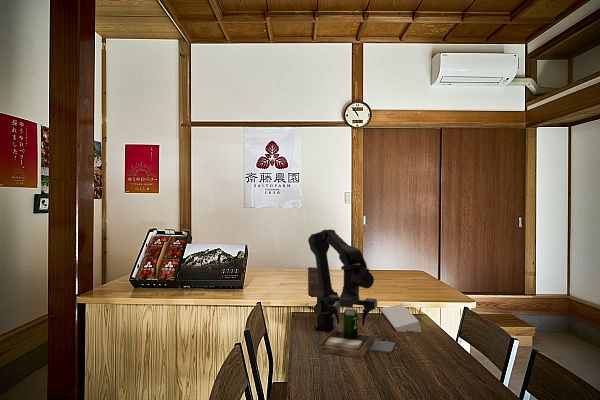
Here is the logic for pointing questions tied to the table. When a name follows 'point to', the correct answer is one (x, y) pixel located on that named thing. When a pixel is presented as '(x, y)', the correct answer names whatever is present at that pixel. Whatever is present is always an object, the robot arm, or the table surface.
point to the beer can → (351, 324)
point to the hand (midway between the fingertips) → (350, 324)
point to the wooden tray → (345, 352)
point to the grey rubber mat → (382, 346)
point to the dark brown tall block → (313, 282)
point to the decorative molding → (401, 318)
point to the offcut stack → (343, 343)
